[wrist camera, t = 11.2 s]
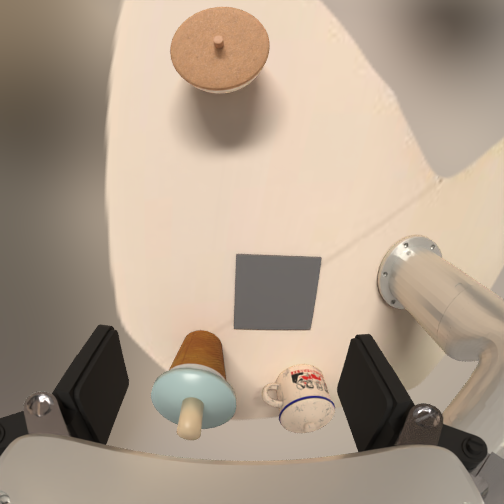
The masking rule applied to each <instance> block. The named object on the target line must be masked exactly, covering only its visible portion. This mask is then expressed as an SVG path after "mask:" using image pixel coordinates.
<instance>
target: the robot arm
mask: <svg viewBox="0 0 504 504" xmlns="http://www.w3.org/2000/svg"><path fill="white" fill-rule="evenodd" d="M378 288H379V291H380V294H381V296H382V298H383V299H384V300H385V301H386V302H387V303H388V304H389V305H390V306H392V307H394V308H397V309H406V310H407V311H408V312H409V313H410V314H411V315H412V316H413V317H414V318H415V320H416V321H417V322H418V323H419V324H420V325H421V326H422V327H423V328H424V330H425V331H426V332H427V333H428V334H429V335H430V336H431V337H432V339H433V340H434V341H435V342H436V343H437V344H438V345H439V347H440V348H441V349H442V350H443V351H444V352H445V353H446V354H447V355H448V356H450V357H451V358H453V359H455V360H458V361H478V360H479V363H478V365H477V367H476V369H475V370H474V371H473V373H472V375H471V377H470V378H469V379H468V381H467V382H466V383H465V385H464V386H463V387H462V389H461V390H460V391H459V393H458V394H457V395H456V397H455V398H454V399H453V400H452V402H451V403H450V404H449V406H448V407H447V408H446V409H445V411H444V412H443V413H441V412H440V410H439V409H437V408H436V407H435V406H432V405H430V404H424V403H423V404H417V405H414V403H413V401H412V400H411V398H410V396H409V395H408V393H407V391H406V390H405V388H404V386H403V385H402V383H401V381H400V380H399V378H398V376H397V375H396V373H395V372H394V370H393V368H392V367H391V365H390V364H389V363H388V361H387V359H386V358H385V356H384V355H383V353H382V351H381V350H380V348H379V347H378V345H377V344H376V342H375V340H374V339H373V337H372V336H371V335H370V334H362V335H356V336H355V338H353V339H351V342H350V345H349V349H348V353H347V356H346V360H345V363H344V367H343V370H342V373H341V377H340V380H339V383H338V387H337V392H338V396H339V399H340V401H341V404H342V407H343V410H344V412H345V415H346V418H347V420H348V424H349V426H350V429H351V432H352V435H353V438H354V441H355V443H356V446H357V449H358V452H356V453H349V454H342V455H335V456H327V457H318V458H309V459H308V458H307V459H296V460H277V461H225V460H207V459H194V458H183V457H174V456H166V455H159V454H152V453H145V452H140V451H134V450H129V449H124V448H119V447H114V446H109V445H106V443H107V441H108V438H109V435H110V433H111V430H112V427H113V424H114V422H115V419H116V417H117V414H118V411H119V409H120V406H121V404H122V401H123V399H124V396H125V394H126V391H127V388H128V385H129V379H128V375H127V371H126V367H125V363H124V358H123V354H122V350H121V345H120V340H119V335H118V332H117V331H116V330H114V328H113V327H112V326H107V325H98V326H97V328H96V329H95V331H94V332H93V333H92V335H91V336H90V338H89V339H88V341H87V342H86V344H85V345H84V346H83V348H82V349H81V351H80V352H79V354H78V355H77V356H76V357H75V359H74V360H73V362H72V363H71V365H70V366H69V368H68V370H67V371H66V373H65V374H64V376H63V377H62V379H61V380H60V382H59V383H58V385H57V386H56V388H55V390H54V391H53V393H52V394H51V393H48V392H44V391H41V392H36V393H33V394H31V395H30V396H29V397H28V398H27V399H26V400H25V402H24V405H23V410H24V411H22V412H19V413H16V414H12V415H9V416H6V417H3V418H0V504H504V299H503V298H501V297H500V296H498V295H497V294H495V293H494V292H492V291H491V290H490V289H488V288H487V287H485V286H484V285H482V284H481V283H479V282H478V281H476V280H475V279H473V278H472V277H470V276H469V275H467V274H466V273H464V272H463V271H461V270H460V269H458V268H457V267H455V266H454V265H452V264H451V263H449V262H448V261H446V260H445V259H443V258H442V254H441V251H440V249H439V247H438V246H437V244H436V243H435V242H433V241H432V240H431V239H429V238H427V237H424V236H420V235H414V236H409V237H406V238H404V239H402V240H400V241H399V242H397V243H396V244H395V245H394V246H393V247H392V248H391V249H390V250H389V251H388V252H387V254H386V256H385V257H384V259H383V261H382V263H381V266H380V269H379V273H378Z"/></svg>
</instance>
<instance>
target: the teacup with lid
mask: <svg viewBox="0 0 504 504" xmlns="http://www.w3.org/2000/svg"><path fill="white" fill-rule="evenodd" d="M268 390H276V391H277V397H278V401H277V400H274V399H272V398H270V397H269V396H268V393H267V391H268ZM262 398H263V400H264V401H265V402H266V403H267V404H268V405H270V406H273V407H279V411H280V415H279V421H280V423H281V425H282V426H283V427H284V428H285V429H286V430H288V431H291V432H294V433H307V432H313V431H315V430H318V429H320V428H322V427H324V426H325V425H327V424H328V423H329V422H330V421H331V419H332V418H333V416H334V413H335V406H334V403H333V402H332V401H331V398H330V395H329V392H328V389H327V386H326V383H325V380H324V378H323V375H322V373H321V371H320V370H319V369H318V368H316V367H314V366H312V365H305V364H303V365H296V366H292V367H290V368H288V369H286V370H285V371H283V372H282V373H281V374H280V375H279V377H278V378H277V381H276V383H271V384H268V385H267V386H265V388H264V389H263V391H262Z"/></svg>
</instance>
